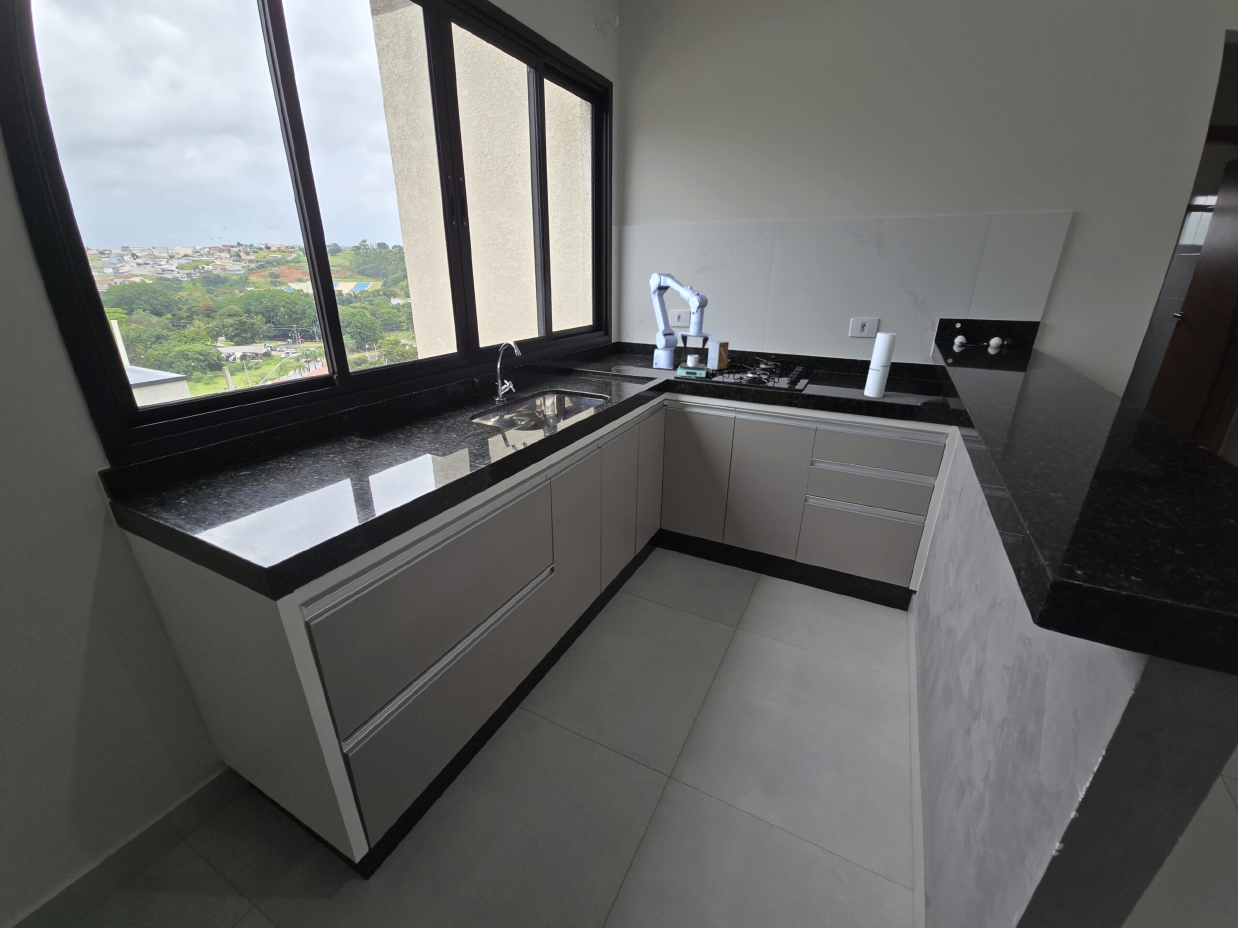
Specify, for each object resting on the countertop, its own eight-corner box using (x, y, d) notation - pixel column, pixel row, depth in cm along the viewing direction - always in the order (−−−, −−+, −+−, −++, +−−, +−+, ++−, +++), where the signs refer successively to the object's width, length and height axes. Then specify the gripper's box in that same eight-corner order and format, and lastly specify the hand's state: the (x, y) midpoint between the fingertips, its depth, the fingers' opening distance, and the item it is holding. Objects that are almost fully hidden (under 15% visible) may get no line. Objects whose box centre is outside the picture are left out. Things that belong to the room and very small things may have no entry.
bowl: (686, 365, 234) (687, 356, 232) (687, 363, 239) (688, 354, 237) (697, 366, 233) (698, 356, 231) (698, 364, 238) (699, 355, 236)
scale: (676, 375, 233) (677, 369, 232) (679, 370, 244) (679, 365, 243) (705, 377, 231) (705, 371, 230) (706, 372, 241) (706, 367, 240)
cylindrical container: (884, 398, 205) (899, 335, 196) (866, 396, 206) (880, 333, 197) (880, 394, 211) (894, 333, 202) (862, 392, 213) (875, 331, 204)
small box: (717, 370, 249) (719, 343, 244) (706, 368, 253) (708, 341, 249) (726, 368, 254) (729, 341, 250) (716, 366, 258) (718, 340, 254)
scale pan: (679, 368, 233) (679, 366, 233) (681, 364, 241) (681, 362, 241) (703, 369, 231) (703, 367, 231) (704, 366, 239) (704, 364, 239)
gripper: (679, 322, 227) (677, 353, 232) (712, 324, 224) (708, 355, 229) (681, 321, 233) (678, 351, 238) (712, 323, 231) (709, 353, 236)
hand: (693, 353), depth 234 cm, fingers open, 7 cm apart
